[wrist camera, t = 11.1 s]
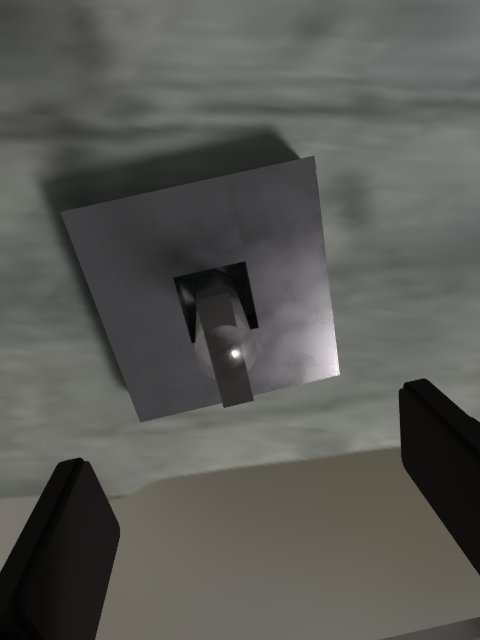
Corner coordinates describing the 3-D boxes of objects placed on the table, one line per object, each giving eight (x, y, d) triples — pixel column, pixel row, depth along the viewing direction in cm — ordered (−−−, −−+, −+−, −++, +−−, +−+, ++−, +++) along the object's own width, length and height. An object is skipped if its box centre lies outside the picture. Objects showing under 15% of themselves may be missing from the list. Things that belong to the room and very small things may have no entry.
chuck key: (226, 249, 26) (243, 289, 16) (242, 322, 29) (266, 397, 18) (187, 258, 26) (180, 303, 16) (206, 330, 28) (210, 411, 18)
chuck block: (301, 159, 25) (314, 155, 22) (326, 357, 31) (339, 374, 28) (76, 209, 24) (60, 211, 21) (145, 400, 30) (140, 422, 27)
